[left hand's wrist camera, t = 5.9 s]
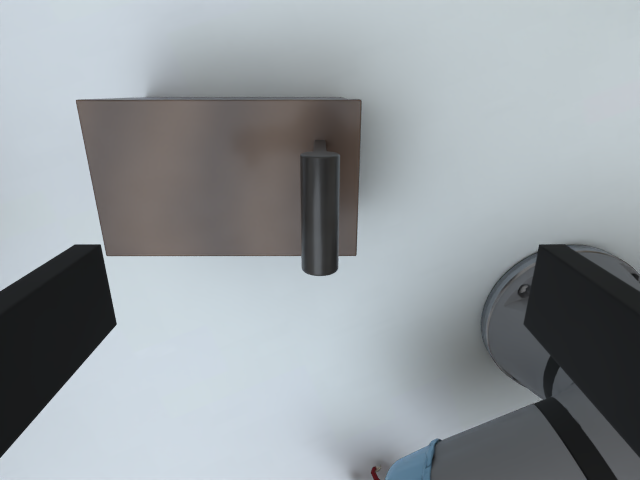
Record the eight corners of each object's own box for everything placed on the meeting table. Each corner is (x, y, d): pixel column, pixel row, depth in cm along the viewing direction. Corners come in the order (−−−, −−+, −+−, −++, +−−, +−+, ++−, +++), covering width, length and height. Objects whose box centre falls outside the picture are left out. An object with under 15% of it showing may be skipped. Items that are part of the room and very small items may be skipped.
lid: (359, 99, 25) (380, 103, 17) (355, 250, 28) (369, 316, 20) (85, 99, 25) (-33, 103, 17) (113, 250, 28) (28, 316, 20)
